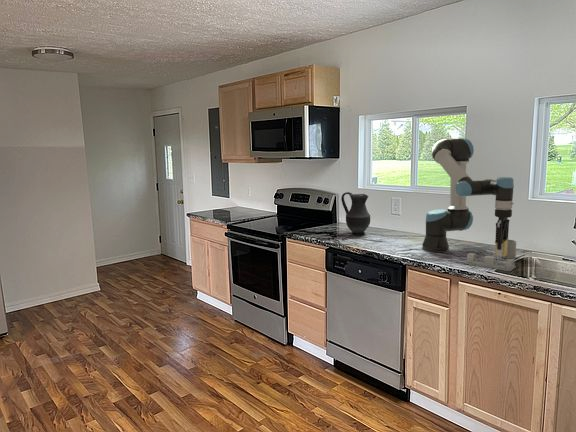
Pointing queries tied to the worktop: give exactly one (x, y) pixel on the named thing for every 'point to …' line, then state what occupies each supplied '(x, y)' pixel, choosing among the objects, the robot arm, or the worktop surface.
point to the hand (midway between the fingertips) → (501, 254)
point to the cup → (511, 250)
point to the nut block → (505, 246)
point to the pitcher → (357, 214)
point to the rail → (490, 262)
